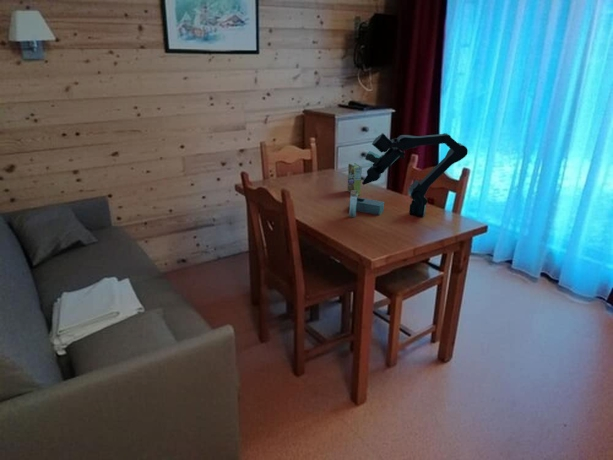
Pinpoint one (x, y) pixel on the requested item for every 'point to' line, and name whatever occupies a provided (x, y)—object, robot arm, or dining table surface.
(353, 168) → the candy box
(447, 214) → the dining table surface
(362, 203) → the bar
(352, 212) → the steel pin
